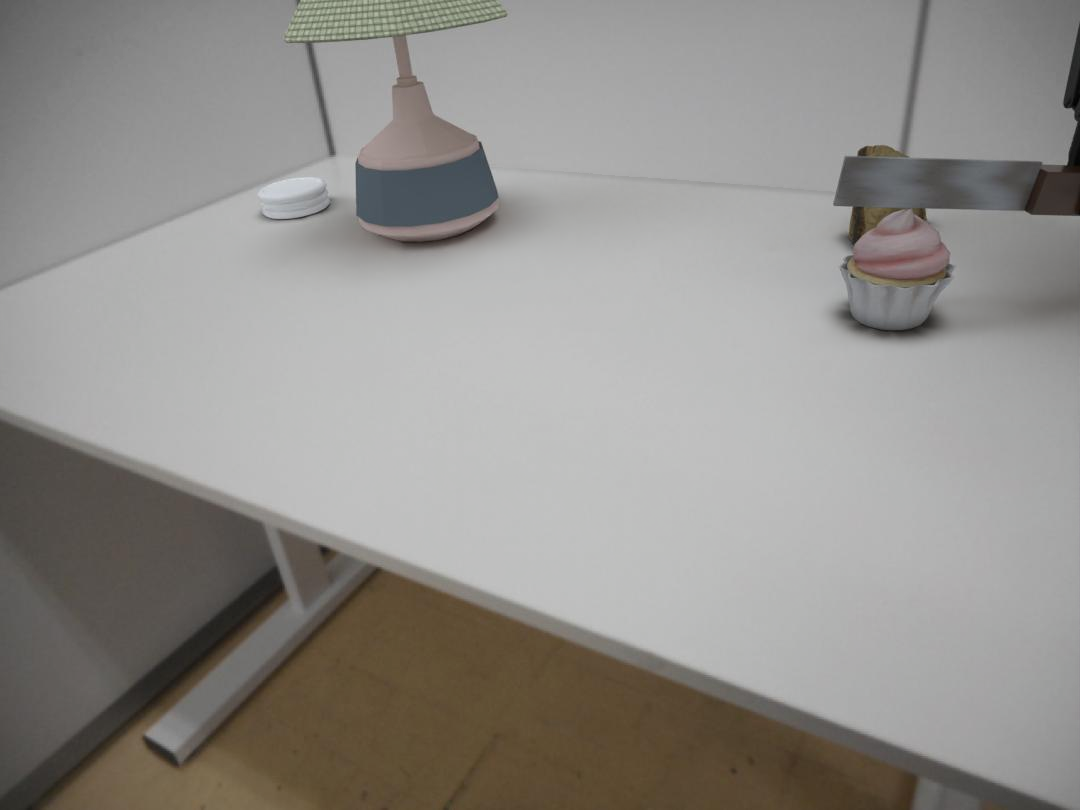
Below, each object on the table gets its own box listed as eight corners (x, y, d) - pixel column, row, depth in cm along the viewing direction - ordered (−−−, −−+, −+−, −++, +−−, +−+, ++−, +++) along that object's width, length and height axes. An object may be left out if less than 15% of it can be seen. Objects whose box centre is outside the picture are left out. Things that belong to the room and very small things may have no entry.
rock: (913, 191, 88) (830, 188, 87) (955, 142, 80) (864, 138, 79) (929, 272, 84) (842, 268, 83) (974, 228, 76) (879, 225, 75)
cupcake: (923, 350, 62) (947, 235, 56) (815, 324, 67) (828, 216, 62) (961, 308, 67) (986, 199, 62) (859, 286, 73) (873, 185, 67)
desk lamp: (573, 214, 99) (546, -180, 76) (389, 282, 84) (290, -177, 62) (463, 182, 116) (415, -146, 94) (294, 235, 102) (190, -138, 79)
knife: (1130, 208, 63) (1152, 161, 61) (1150, 218, 61) (1174, 168, 59) (828, 201, 63) (840, 152, 61) (838, 210, 61) (850, 160, 59)
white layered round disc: (311, 194, 118) (305, 172, 116) (342, 205, 112) (337, 182, 110) (252, 212, 113) (245, 189, 111) (281, 225, 106) (274, 200, 104)
